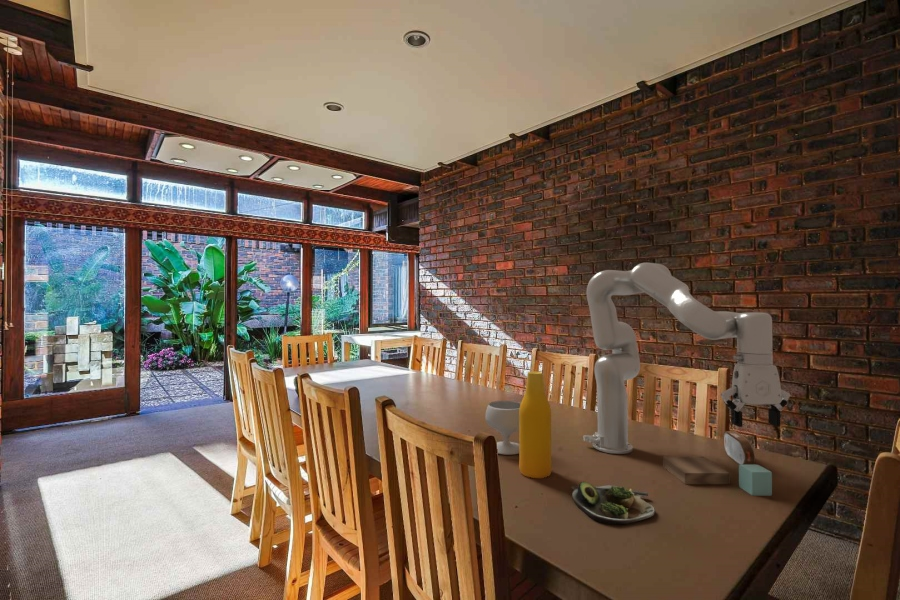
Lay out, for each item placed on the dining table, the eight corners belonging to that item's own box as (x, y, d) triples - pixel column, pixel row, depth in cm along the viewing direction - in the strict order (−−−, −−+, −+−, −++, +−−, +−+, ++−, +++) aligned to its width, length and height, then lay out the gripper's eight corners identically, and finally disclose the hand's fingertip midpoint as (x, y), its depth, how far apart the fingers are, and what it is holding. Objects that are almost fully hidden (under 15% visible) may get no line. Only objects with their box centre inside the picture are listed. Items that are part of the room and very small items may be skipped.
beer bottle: (516, 476, 119) (515, 374, 119) (522, 464, 128) (521, 369, 128) (549, 481, 116) (549, 376, 116) (553, 468, 125) (552, 370, 125)
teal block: (752, 495, 107) (752, 472, 107) (738, 486, 112) (738, 464, 112) (772, 495, 107) (771, 472, 107) (757, 486, 112) (757, 464, 112)
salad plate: (627, 486, 113) (627, 469, 113) (676, 520, 96) (676, 499, 96) (561, 494, 109) (561, 476, 109) (601, 530, 92) (600, 509, 92)
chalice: (536, 451, 139) (536, 405, 139) (504, 460, 131) (504, 412, 131) (507, 439, 151) (507, 397, 151) (477, 447, 143) (476, 403, 143)
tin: (756, 471, 122) (755, 442, 122) (743, 471, 122) (743, 442, 122) (732, 453, 136) (732, 427, 136) (721, 452, 137) (721, 427, 137)
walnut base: (685, 484, 114) (685, 473, 114) (662, 466, 126) (662, 456, 126) (729, 484, 114) (729, 473, 114) (703, 466, 125) (703, 456, 126)
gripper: (730, 361, 106) (732, 429, 106) (799, 361, 106) (801, 429, 106) (712, 358, 113) (713, 421, 113) (776, 357, 113) (777, 421, 113)
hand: (755, 425), depth 109 cm, fingers open, 9 cm apart
